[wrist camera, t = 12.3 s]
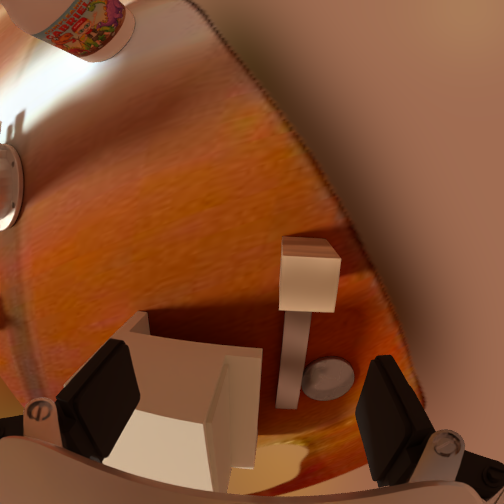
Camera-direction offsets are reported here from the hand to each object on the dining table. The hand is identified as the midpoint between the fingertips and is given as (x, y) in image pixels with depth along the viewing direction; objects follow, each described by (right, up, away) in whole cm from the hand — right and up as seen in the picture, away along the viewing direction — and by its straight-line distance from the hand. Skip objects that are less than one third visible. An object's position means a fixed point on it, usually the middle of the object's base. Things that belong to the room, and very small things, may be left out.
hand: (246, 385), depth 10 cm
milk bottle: (-16, +30, +12) cm, 36 cm away
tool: (+5, -3, +18) cm, 19 cm away
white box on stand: (-6, -11, +21) cm, 24 cm away
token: (+9, -9, +20) cm, 23 cm away
